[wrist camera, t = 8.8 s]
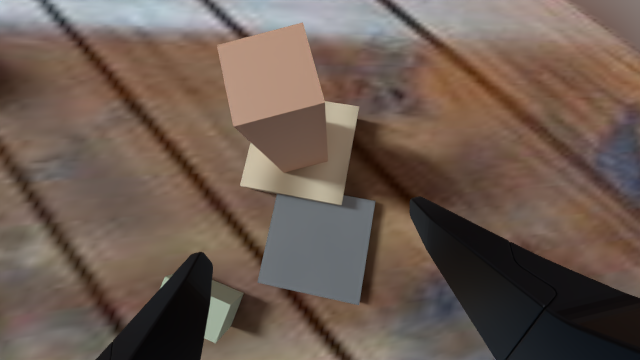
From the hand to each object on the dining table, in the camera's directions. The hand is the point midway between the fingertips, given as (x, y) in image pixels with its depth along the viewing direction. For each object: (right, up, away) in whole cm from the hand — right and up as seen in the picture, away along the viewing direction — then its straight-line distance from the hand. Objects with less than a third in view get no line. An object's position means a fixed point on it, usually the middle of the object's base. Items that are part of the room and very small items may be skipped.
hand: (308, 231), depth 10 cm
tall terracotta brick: (-1, +5, +11) cm, 12 cm away
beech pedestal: (-1, +5, +13) cm, 14 cm away
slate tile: (0, -3, +12) cm, 12 cm away
